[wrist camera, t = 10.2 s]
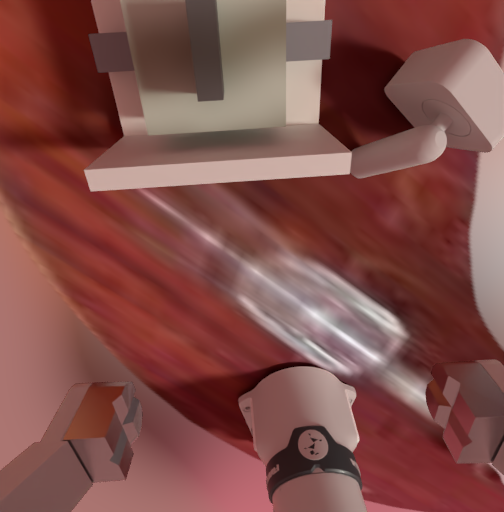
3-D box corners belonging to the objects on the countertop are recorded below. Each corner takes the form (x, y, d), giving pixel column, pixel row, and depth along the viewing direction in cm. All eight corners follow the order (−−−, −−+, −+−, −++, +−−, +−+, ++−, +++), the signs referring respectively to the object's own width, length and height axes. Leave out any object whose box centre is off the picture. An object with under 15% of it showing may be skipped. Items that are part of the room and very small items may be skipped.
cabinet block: (274, 110, 30) (295, 139, 21) (164, 118, 30) (134, 150, 21) (272, -34, 25) (298, -81, 16) (138, -26, 25) (83, -70, 15)
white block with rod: (320, 148, 33) (370, 162, 24) (394, 56, 31) (479, 34, 22) (372, 196, 36) (433, 224, 27) (442, 115, 34) (534, 117, 25)
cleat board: (314, 136, 33) (349, 174, 23) (131, 148, 33) (90, 191, 23) (325, -89, 25) (388, -177, 15) (78, -76, 24) (-23, -159, 14)
